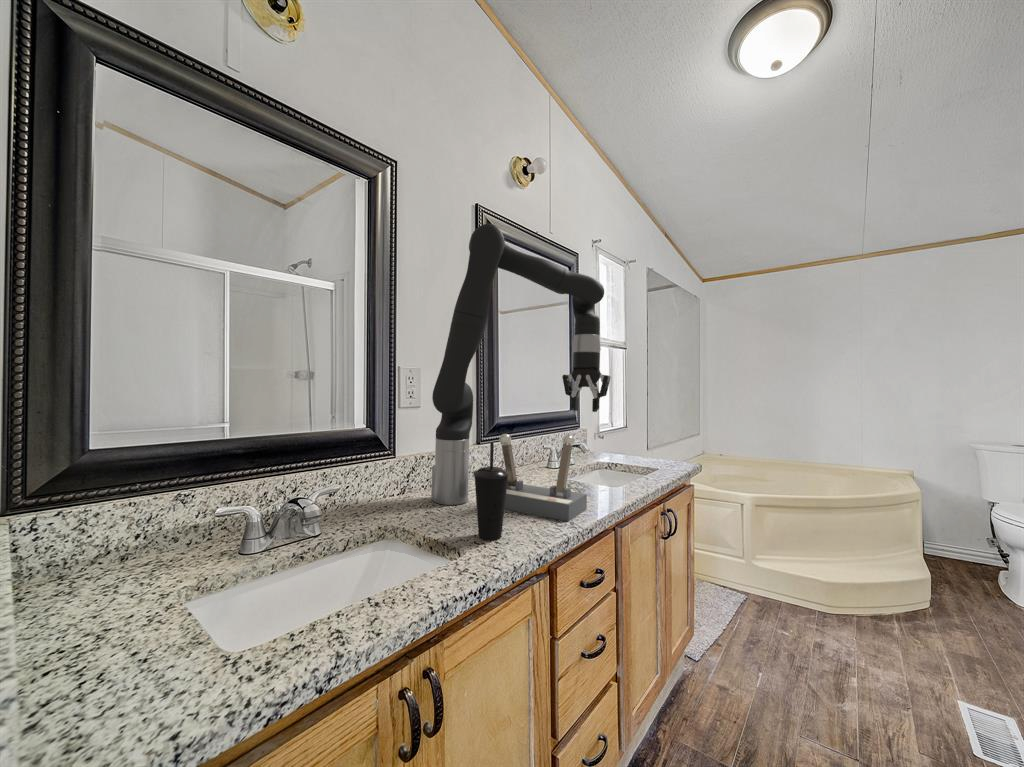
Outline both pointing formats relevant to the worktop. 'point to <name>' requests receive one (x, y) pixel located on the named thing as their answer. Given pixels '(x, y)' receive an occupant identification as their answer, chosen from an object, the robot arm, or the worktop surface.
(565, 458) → the lever
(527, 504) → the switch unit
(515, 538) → the worktop surface
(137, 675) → the worktop surface
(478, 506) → the drinking cup
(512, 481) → the lever
